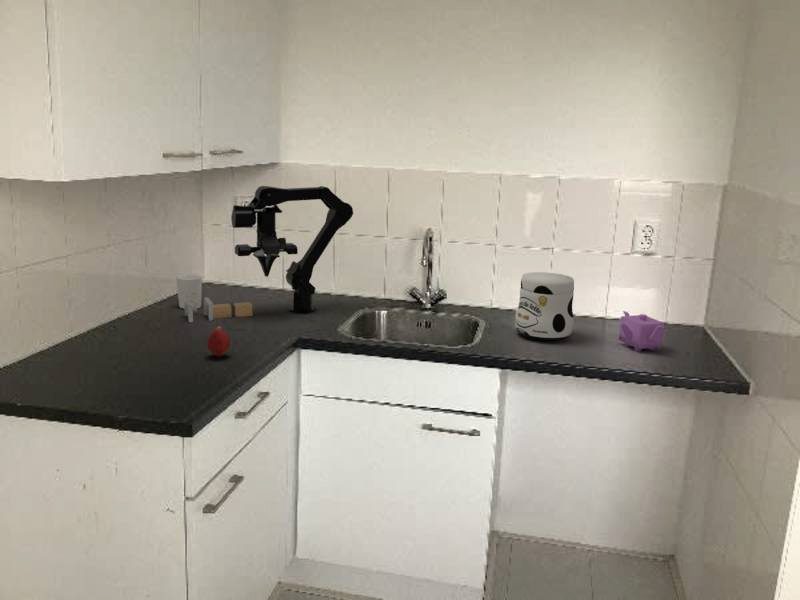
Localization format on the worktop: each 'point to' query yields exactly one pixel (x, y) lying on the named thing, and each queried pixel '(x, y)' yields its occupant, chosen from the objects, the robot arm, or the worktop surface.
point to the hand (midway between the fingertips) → (266, 276)
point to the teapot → (641, 332)
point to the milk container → (545, 306)
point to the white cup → (189, 289)
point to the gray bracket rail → (189, 308)
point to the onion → (218, 342)
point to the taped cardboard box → (232, 310)
